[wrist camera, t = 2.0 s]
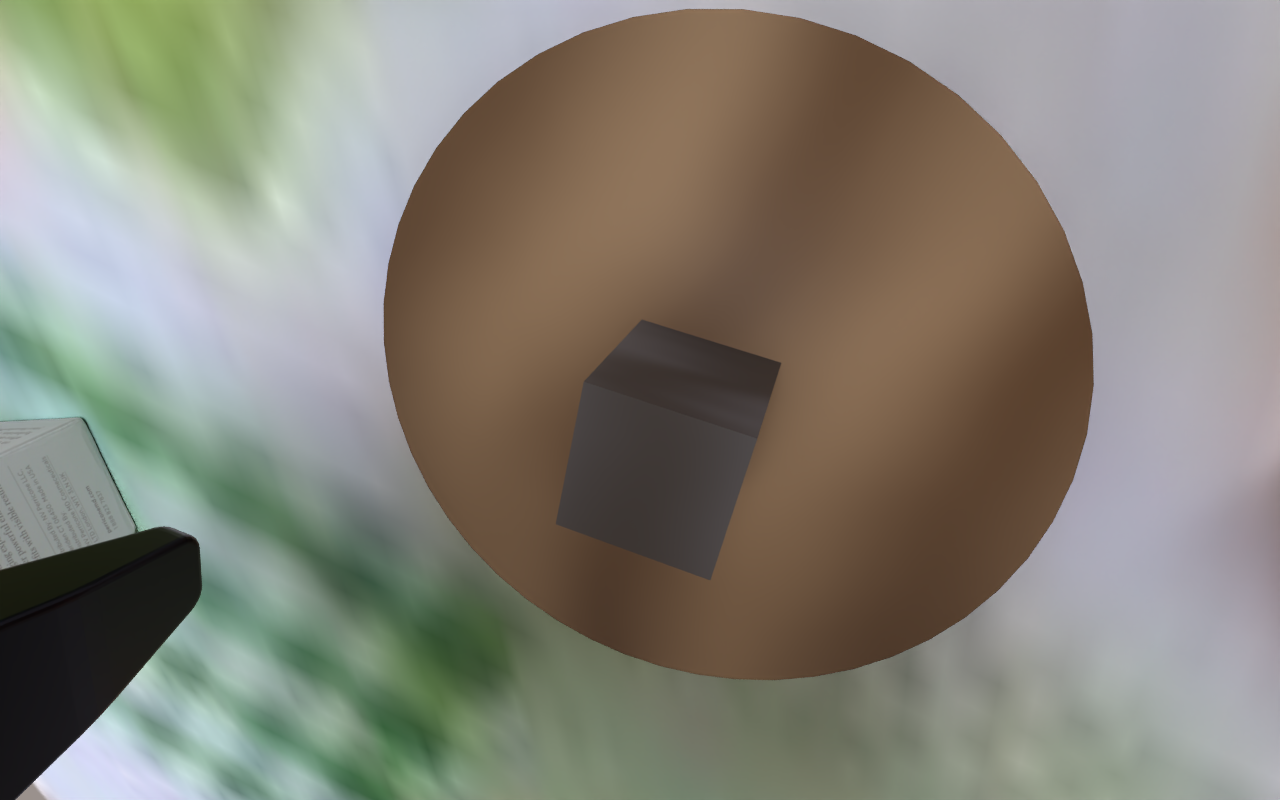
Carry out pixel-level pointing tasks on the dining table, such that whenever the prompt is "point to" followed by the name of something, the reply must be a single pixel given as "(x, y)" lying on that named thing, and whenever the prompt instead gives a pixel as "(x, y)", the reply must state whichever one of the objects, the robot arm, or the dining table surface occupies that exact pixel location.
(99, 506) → the skincare box
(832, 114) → the walnut lid
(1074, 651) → the dining table surface
